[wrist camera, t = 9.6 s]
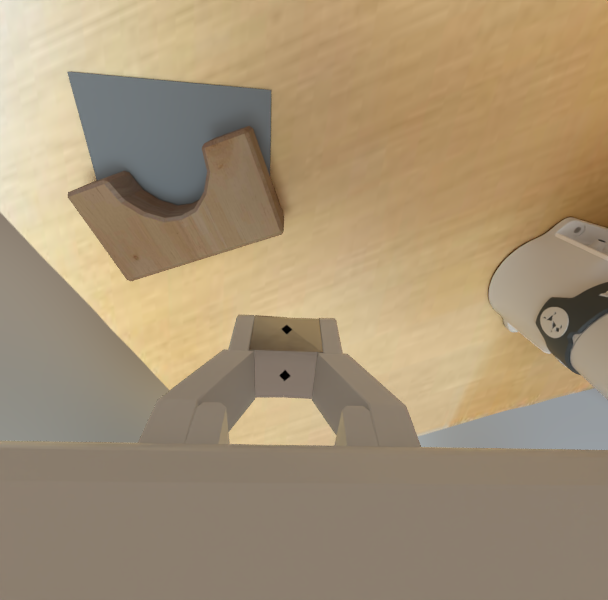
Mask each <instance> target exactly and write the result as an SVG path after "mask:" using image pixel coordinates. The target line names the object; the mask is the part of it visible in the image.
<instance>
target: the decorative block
mask: <svg viewBox="0 0 608 600" xmlns="http://www.w3.org/2000/svg"><path fill="white" fill-rule="evenodd" d="M202 152H203V156H204V160H205V164H206V169H207V176H206V182H205V188H204V192H203V194H202V196H201V198H200V199H199V200H198V201H196V202H194V203H192V204H185V205H175V204H172V203H168V202H165V201H162V200H159V199H158V198H156V197H154V196H153V195H151V194H150V193H148V192H146V191H145V190H143V189H142V188H141V186H140V185H139V184H138V183H137V182H136V180H135V179H134V178H133V177H132V175H131V174H130V173H129V172H126V171H122V172H120V173H117V174H114V175H111V176H108V177H106V178H103V179H100V180H97V181H95V182H92V183H90V184H87V185H85V186H83V187H80V188H78V189H75V190H73V191H71V192H68V198H69V199H70V201H71V202H72V204H73V205H74V206H75V208H76V209H77V211H78V212H79V213H80V215H81V216H82V217H83V219H84V220H85V222H86V223H87V224H88V226H89V227H90V229H91V230H92V231H93V233H94V234H95V236H96V237H97V238H98V240H99V241H100V242H101V244H102V245H103V247H104V248H105V249H106V251H107V252H108V254H109V255H110V257H111V258H112V259H113V261H114V262H115V264H116V265H117V266H118V268H119V269H120V271H121V272H122V273H123V275H124V276H125V278H126V279H127V280H129V281H133V280H137V279H140V278H143V277H146V276H149V275H153V274H156V273H159V272H162V271H165V270H168V269H172V268H175V267H178V266H181V265H185V264H188V263H191V262H194V261H198V260H201V259H204V258H207V257H210V256H214V255H217V254H220V253H223V252H226V251H230V250H233V249H236V248H239V247H242V246H246V245H249V244H252V243H255V242H258V241H262V240H265V239H268V238H271V237H275V236H278V235H281V234H282V233H283V231H284V216H283V213H282V210H281V207H280V204H279V202H278V199H277V196H276V193H275V190H274V187H273V184H272V181H271V179H270V176H269V173H268V170H267V167H266V164H265V161H264V158H263V156H262V153H261V150H260V147H259V144H258V141H257V138H256V135H255V133H254V130H253V128H252V127H250V126H247V127H244V128H241V129H238V130H236V131H233V132H230V133H227V134H225V135H222V136H219V137H216V138H214V139H212V140H210V141H208V142H206V143H204V144H203V146H202Z"/></svg>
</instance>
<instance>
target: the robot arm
mask: <svg viewBox="0 0 608 600" xmlns="http://www.w3.org/2000/svg"><path fill="white" fill-rule="evenodd" d="M489 301H490V304H491V306H492V307H493V309H494V310H495V311H496V312H497V313H498V314H500V315H501V316H502V318H503V321H504V325H505V327H506V328H507V329H508V330H509V331H511V332H520V333H521V334H522V335H523V336H524V337H526V338H527V339H528V340H529V341H531V342H532V343H533V344H534V345H536V346H537V347H538V348H539V349H541V350H542V351H543V352H545V353H548V354H550V353H552V354H553V355H554V356H555V357H556V359H557V360H558V361H559V362H560V363H562V364H563V365H565V366H566V367H567V368H569V369H570V370H571V371H572V372H574V373H576V374H579V375H582V376H583V377H584V378H585V379H586V380H587V381H588V382H589V383H590V384H591V385H592V386H593V387H594V388H596V389H597V390H598V391H599V392H600V393H601V394H602V395H603V396H604V397H605V398H606V399H607V400H608V228H606V227H603V226H599V225H596V224H593V223H590V222H586V221H583V220H580V219H576V218H573V217H569V218H566V219H564V220H562V221H561V222H559V223H558V224H557V225H555V226H554V227H553V228H552V229H551V230H550V231H548V232H547V233H546V234H544V235H542V236H540V237H538V238H536V239H534V240H532V241H530V242H528V243H526V244H524V245H523V246H521V247H519V248H518V249H517V250H515V251H514V252H513V253H512V254H510V255H509V256H508V257H507V258H506V259H505V260H504V261H503V263H502V264H501V265H500V266H499V268H498V269H497V271H496V272H495V274H494V276H493V278H492V280H491V283H490V287H489ZM255 397H288V398H307V399H312V401H313V402H314V404H315V405H316V407H317V408H318V410H319V411H320V412H321V414H322V415H323V417H324V418H325V420H326V421H327V423H328V424H329V425H330V427H331V428H332V430H333V431H334V433H335V434H336V441H335V445H334V446H309V445H245V444H229V433H228V432H229V431H230V430H231V428H232V427H233V426H234V425H235V423H236V422H237V421H238V420H239V418H240V417H241V416H242V415H243V413H244V412H245V411H246V410H247V408H248V407H249V406H250V405H251V403H252V402H253V401H254V400H255ZM0 600H608V450H565V449H564V450H563V449H501V448H437V447H436V448H435V447H421V445H420V443H419V440H418V437H417V434H416V432H415V429H414V426H413V423H412V421H411V418H410V415H409V412H408V410H407V407H406V406H405V405H404V404H403V403H402V402H401V401H400V400H399V399H398V398H396V397H395V396H394V395H393V394H392V393H391V392H390V391H389V390H388V389H386V388H385V387H384V386H383V385H382V384H381V383H380V382H379V381H377V380H376V379H375V378H374V377H373V376H372V375H371V374H370V373H368V372H367V371H366V370H365V369H364V368H363V367H362V366H361V365H359V364H358V363H357V362H356V361H355V360H354V359H353V358H352V357H350V356H349V355H348V354H343V353H342V348H341V342H340V337H339V332H338V327H337V322H336V320H335V318H319V319H312V318H287V317H273V316H257V315H255V316H254V315H238V316H237V318H236V322H235V326H234V330H233V334H232V338H231V341H230V345H229V349H228V350H222V351H221V352H220V353H218V354H217V355H216V356H214V357H213V358H212V359H210V360H209V361H208V362H206V363H205V364H204V365H202V366H201V367H200V368H199V369H197V370H196V371H195V372H193V373H192V374H191V375H189V376H188V377H187V378H185V379H184V380H183V381H181V382H180V383H179V384H178V385H176V386H175V387H174V388H172V389H171V390H170V391H168V392H167V393H166V394H165V395H163V396H162V397H160V398H159V399H158V400H157V402H156V404H155V407H154V409H153V411H152V413H151V415H150V418H149V420H148V422H147V424H146V426H145V428H144V431H143V433H142V435H141V437H140V439H139V442H138V443H114V442H113V443H112V442H108V443H107V442H49V441H43V442H42V441H0Z"/></svg>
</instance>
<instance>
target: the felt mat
mask: <svg viewBox="0 0 608 600" xmlns="http://www.w3.org/2000/svg"><path fill="white" fill-rule="evenodd" d="M68 76H69V80H70V83H71V87H72V91H73V94H74V98H75V102H76V105H77V109H78V113H79V116H80V120H81V124H82V127H83V131H84V135H85V138H86V142H87V146H88V149H89V153H90V157H91V160H92V164H93V168H94V171H95V175H96V179H97V180H100V179H103V178H106V177H108V176H111V175H114V174H117V173H120V172H122V171H126V172H129V173H130V174H131V175H132V177H133V178H134V179H135V180H136V182H137V183H138V184H139V185H140V186H141V188H142V189H143V190H145V191H146V192H148V193H150V194H151V195H153V196H154V197H156V198H158V199H159V200H162V201H165V202H168V203H172V204H175V205H185V204H192V203H194V202H196V201H198V200H199V199H200V198H201V196H202V194H203V192H204V188H205V182H206V176H207V169H206V164H205V160H204V156H203V152H202V146H203V144H204V143H206V142H208V141H210V140H212V139H214V138H216V137H219V136H222V135H225V134H227V133H230V132H233V131H236V130H238V129H241V128H244V127H247V126H250V127H252V128H253V130H254V133H255V135H256V138H257V141H258V144H259V147H260V150H261V153H262V156H263V158H264V161H265V164H266V167H267V170H268V173H269V176H270V141H271V90H264V89H253V88H242V87H231V86H220V85H209V84H198V83H187V82H176V81H165V80H154V79H143V78H132V77H121V76H110V75H99V74H88V73H76V72H68Z"/></svg>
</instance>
